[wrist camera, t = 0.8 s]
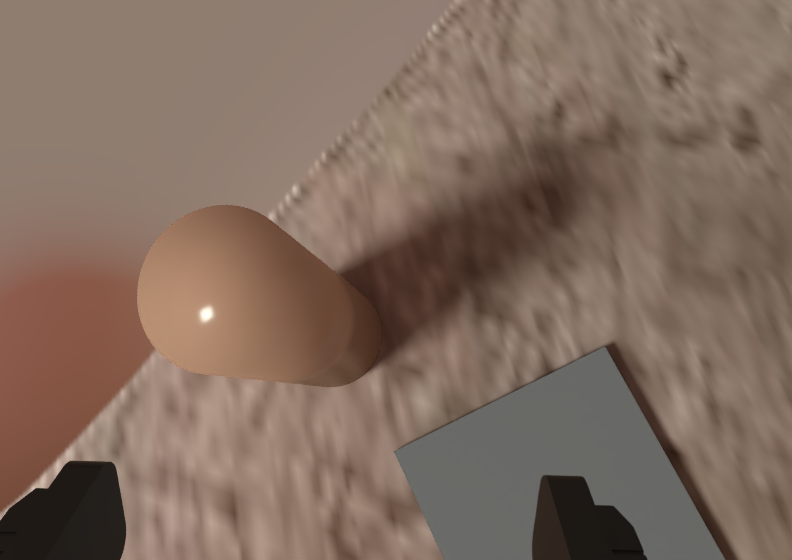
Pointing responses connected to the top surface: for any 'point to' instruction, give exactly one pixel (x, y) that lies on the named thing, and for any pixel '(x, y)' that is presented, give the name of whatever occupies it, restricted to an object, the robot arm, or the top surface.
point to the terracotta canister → (253, 303)
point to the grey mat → (551, 468)
